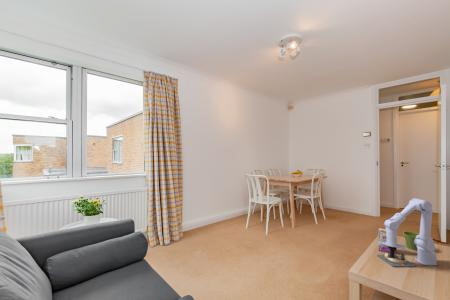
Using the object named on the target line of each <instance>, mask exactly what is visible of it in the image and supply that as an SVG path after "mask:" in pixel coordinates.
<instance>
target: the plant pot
mask: <svg viewBox="0 0 450 300" xmlns="http://www.w3.org/2000/svg"><path fill="white" fill-rule="evenodd" d="M402 233H403V237H404V240H405V247H406V248H408V249H409V250H413V251H417V246H416V245H415V243H414V240H415V239H416V235H419V234H420V233H418V232H413V231H406V230H405V231H402Z"/></svg>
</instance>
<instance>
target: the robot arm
mask: <svg viewBox="0 0 450 300" xmlns="http://www.w3.org/2000/svg"><path fill="white" fill-rule="evenodd" d="M414 211H420V212H421V214H420V215H421V216H420V224H419V233H418V234H419V235H416V239H415V240H414V243H415V245H416V246H417V250H416V251H417V258H413V259H414V261H415V262H418V263H420V264H422V265H424V266H438V265H439V264H438V263H437V253H436V251H435V249H436V246H435V241H434V239H433V238H432V237H431V234H432V231H431V230H432V222H433V221H432V219H433V203H431V202H430V201H429V200H424V199H420V198H418V197H413V198H411V200H408V204H407V205H406V206H405V207H404V209H402V211H400V212H396V213H395V214H394V215H393V216H392V217H390V218H388V219H386V220H385V221H384V223H383V226H384V227H385V229H386V240H387V242H379V245H380V246H381V245H383V246H389V249H390V251H391V258H394V252H395V251H396V248H397V249H401V250H407V249H406V248H407V247H406V245H403V244H399V243H398V233H397V230H399V227H400V226H401V225H400V224H402V223H403V222H404V221H405V220H407V219H406V217H407V216H409V215H410V214H411V213H413V212H414Z"/></svg>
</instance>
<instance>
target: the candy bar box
mask: <svg viewBox="0 0 450 300" xmlns="http://www.w3.org/2000/svg"><path fill="white" fill-rule="evenodd" d="M377 239H378V251H380V252H384V253H388V251H390V249H389V246H383V245H381V246H380V245H379V242H387V240H386V228H380V227H379V228H378V238H377ZM397 251H398V248H396V251H395V254H398V253H397ZM390 252H391V251H390Z"/></svg>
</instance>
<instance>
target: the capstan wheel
mask: <svg viewBox="0 0 450 300" xmlns="http://www.w3.org/2000/svg"><path fill="white" fill-rule="evenodd" d="M384 255H385V258H386V259H387V260H389V261H391V262H394V263H398V264H405V263H406V260H407V258H406V256H405V253H403V252H401V254H398V253H397V254H395V252H394V258H391V252H390V251H388V252H384Z"/></svg>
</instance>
